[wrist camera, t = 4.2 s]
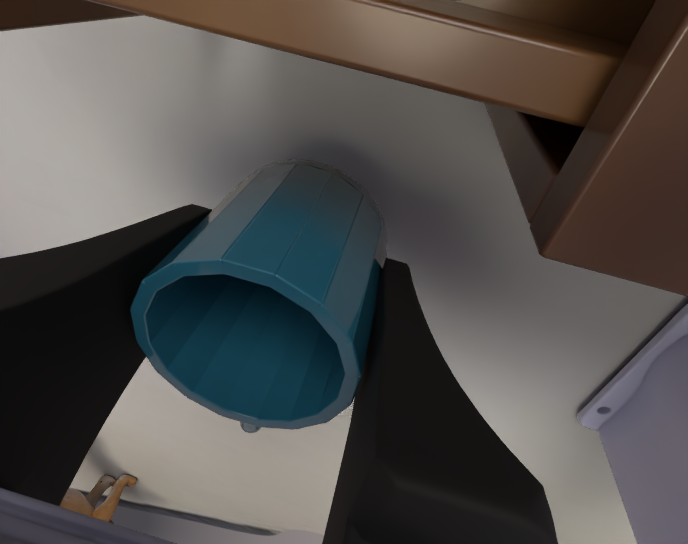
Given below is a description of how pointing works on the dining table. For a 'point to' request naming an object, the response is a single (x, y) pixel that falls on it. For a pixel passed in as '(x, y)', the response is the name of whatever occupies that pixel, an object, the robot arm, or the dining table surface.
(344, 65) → the drawer
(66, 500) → the lion figurine
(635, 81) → the cabinet
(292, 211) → the blue mug
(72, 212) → the dining table surface
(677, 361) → the robot arm
